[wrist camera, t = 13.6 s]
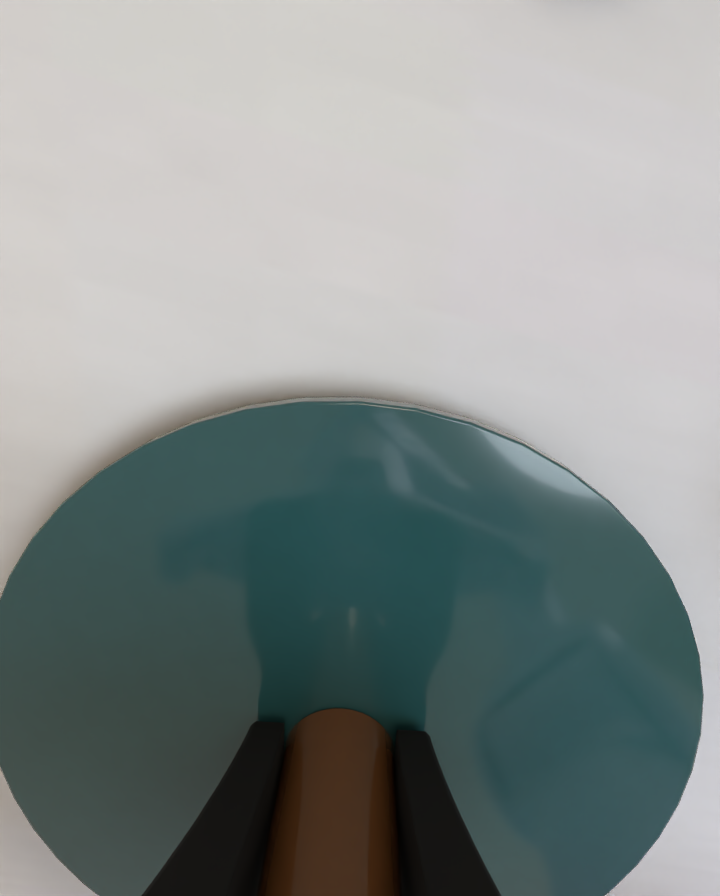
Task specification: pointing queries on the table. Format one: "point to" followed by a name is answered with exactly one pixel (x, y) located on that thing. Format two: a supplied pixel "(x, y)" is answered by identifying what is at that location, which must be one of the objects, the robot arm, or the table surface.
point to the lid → (346, 652)
